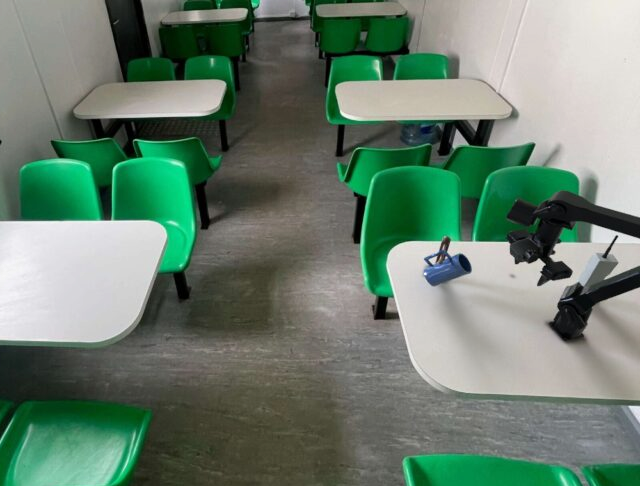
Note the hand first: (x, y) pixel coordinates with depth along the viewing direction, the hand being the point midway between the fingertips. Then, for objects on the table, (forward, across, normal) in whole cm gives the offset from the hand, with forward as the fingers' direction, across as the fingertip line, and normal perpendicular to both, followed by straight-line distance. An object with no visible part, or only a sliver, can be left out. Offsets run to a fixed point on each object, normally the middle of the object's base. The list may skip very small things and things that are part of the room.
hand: (527, 274), depth 124 cm
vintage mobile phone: (+13, +2, +23) cm, 27 cm away
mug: (+7, -14, -23) cm, 27 cm away
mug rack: (+13, -14, -19) cm, 27 cm away
